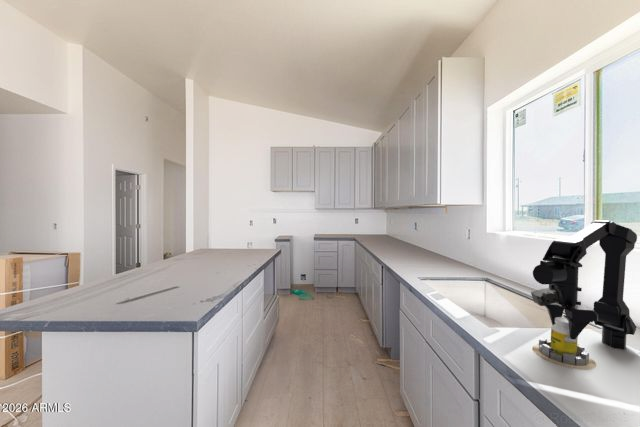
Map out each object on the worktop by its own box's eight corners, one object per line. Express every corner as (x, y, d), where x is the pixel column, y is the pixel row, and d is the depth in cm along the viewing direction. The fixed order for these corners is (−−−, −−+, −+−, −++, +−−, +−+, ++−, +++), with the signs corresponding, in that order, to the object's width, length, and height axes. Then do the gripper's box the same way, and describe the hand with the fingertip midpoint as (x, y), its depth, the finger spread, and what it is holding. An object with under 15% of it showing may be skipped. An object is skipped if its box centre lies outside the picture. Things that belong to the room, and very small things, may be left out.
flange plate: (527, 343, 99) (527, 340, 99) (584, 353, 93) (585, 350, 93) (538, 364, 86) (538, 361, 86) (606, 378, 79) (606, 374, 79)
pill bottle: (545, 349, 93) (547, 315, 92) (568, 352, 91) (570, 317, 91) (557, 359, 87) (559, 322, 86) (581, 362, 85) (583, 325, 85)
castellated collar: (535, 343, 97) (535, 334, 97) (579, 351, 92) (580, 342, 92) (544, 359, 86) (544, 349, 86) (594, 369, 82) (595, 359, 81)
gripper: (520, 273, 99) (519, 319, 100) (553, 288, 81) (551, 344, 81) (557, 275, 97) (556, 322, 98) (600, 291, 79) (598, 348, 79)
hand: (563, 332), depth 89 cm, fingers open, 8 cm apart
